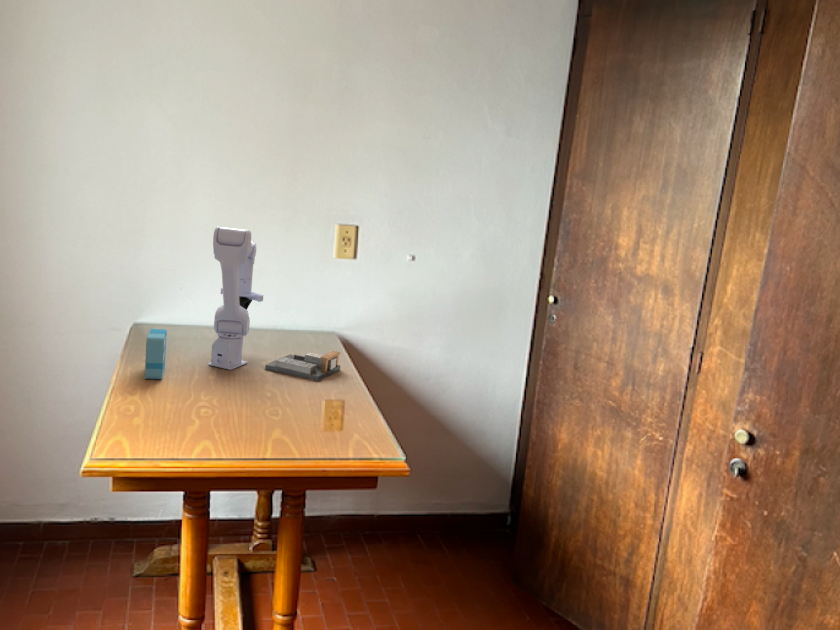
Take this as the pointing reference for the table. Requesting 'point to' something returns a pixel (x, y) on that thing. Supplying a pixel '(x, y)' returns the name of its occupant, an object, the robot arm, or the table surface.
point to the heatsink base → (304, 366)
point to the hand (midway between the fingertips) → (240, 319)
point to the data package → (155, 353)
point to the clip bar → (319, 360)
